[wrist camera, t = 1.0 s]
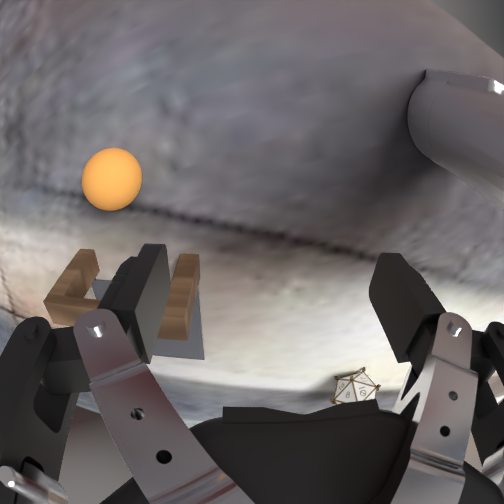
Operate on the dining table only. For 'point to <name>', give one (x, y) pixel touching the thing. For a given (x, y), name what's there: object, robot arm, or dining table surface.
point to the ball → (111, 179)
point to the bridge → (74, 304)
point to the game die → (354, 388)
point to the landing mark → (166, 346)
